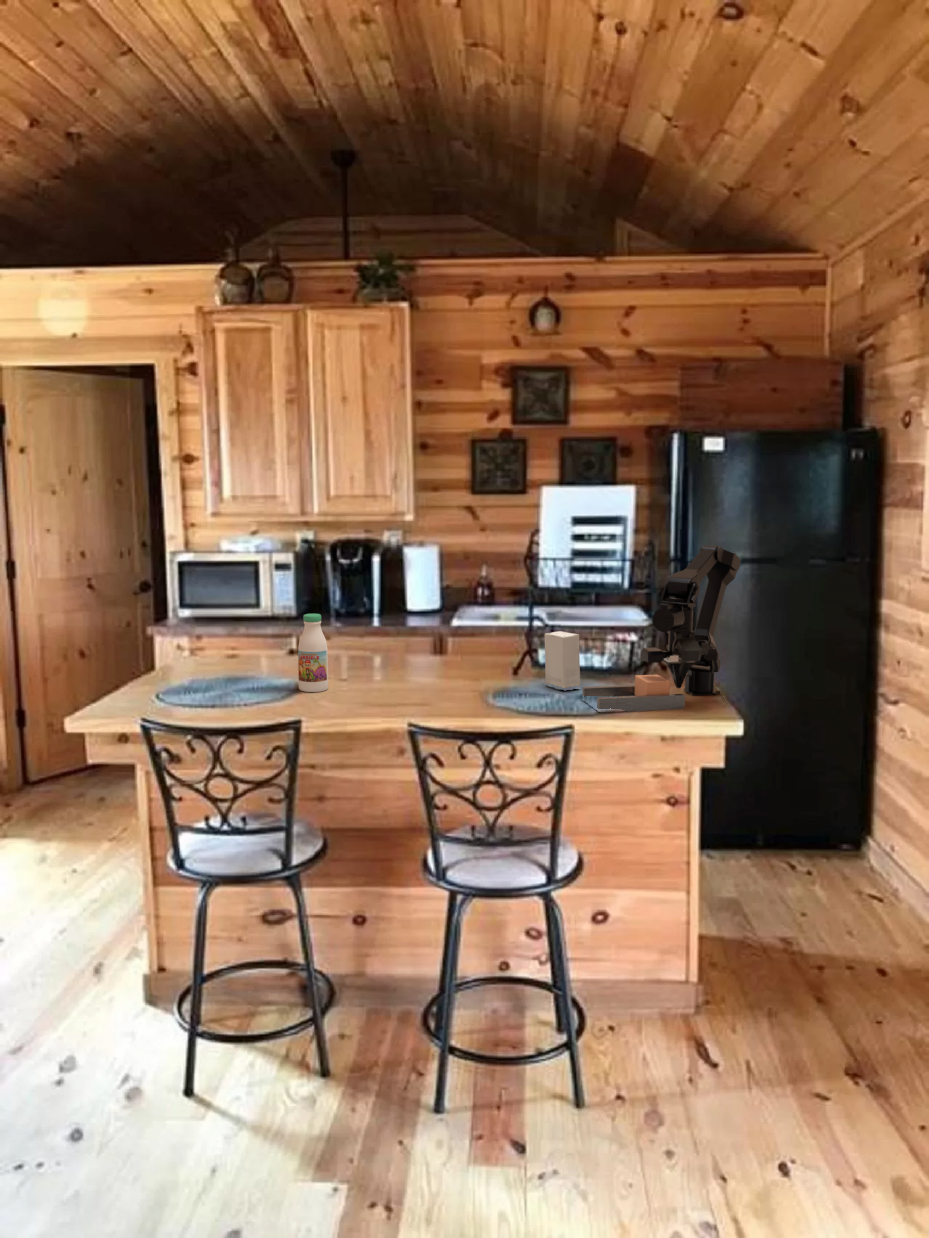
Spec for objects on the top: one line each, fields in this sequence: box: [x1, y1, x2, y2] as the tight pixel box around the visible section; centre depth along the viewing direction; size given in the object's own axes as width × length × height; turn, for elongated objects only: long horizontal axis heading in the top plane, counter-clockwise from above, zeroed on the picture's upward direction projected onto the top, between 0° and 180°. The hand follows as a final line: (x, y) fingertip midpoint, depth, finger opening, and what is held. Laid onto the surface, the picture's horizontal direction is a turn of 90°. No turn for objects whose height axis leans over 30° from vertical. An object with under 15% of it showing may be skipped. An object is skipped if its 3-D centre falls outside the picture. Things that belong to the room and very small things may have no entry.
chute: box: [581, 684, 686, 713], centre depth 259 cm, size 22×13×4 cm, turn 102°
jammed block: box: [634, 674, 671, 696], centre depth 259 cm, size 6×8×5 cm
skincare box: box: [544, 630, 581, 688], centre depth 276 cm, size 8×6×15 cm
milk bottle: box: [297, 613, 329, 693], centre depth 272 cm, size 8×8×20 cm
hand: (678, 687), depth 261 cm, fingers closed
